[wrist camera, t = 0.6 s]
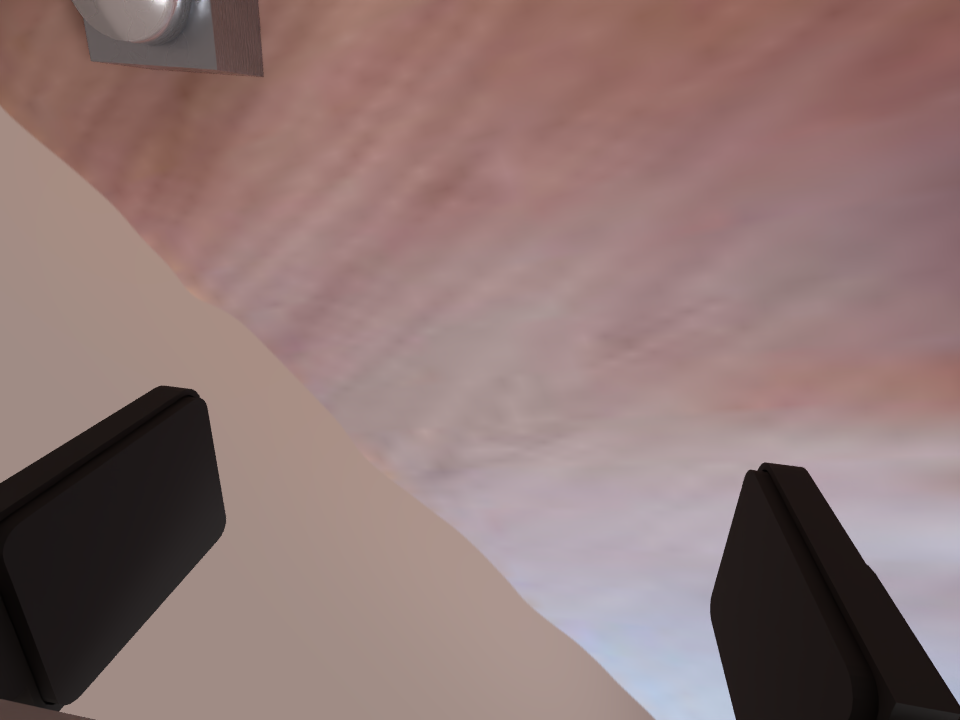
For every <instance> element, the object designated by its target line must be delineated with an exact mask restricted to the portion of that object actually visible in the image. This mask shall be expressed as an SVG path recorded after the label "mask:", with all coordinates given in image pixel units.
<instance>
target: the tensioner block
mask: <svg viewBox="0 0 960 720" xmlns="http://www.w3.org/2000/svg"><path fill="white" fill-rule="evenodd" d="M72 2H73V4H74V5H75V7H76V8H77V10H78V11H79V13H80V14H81V15H82V16H83V20H84V25H85V31H86V36H87V42H88V47H89V53H90V58H91V61H93V62H101V63H109V64H116V65H124V66H131V67H139V68H146V69H156V70H170V71H185V72H199V73H213V74H228V75H242V76H256V77H264V76H263V62H262V49H261V35H260V22H259V8H258V0H72Z"/></svg>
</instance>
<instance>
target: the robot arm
mask: <svg viewBox="0 0 960 720" xmlns="http://www.w3.org/2000/svg"><path fill="white" fill-rule="evenodd" d="M225 524H226V515H225V510H224V503H223V497H222V492H221V485H220V479H219V474H218V467H217V462H216V456H215V450H214V444H213V438H212V432H211V426H210V420H209V415H208V409H207V405H206V403H205V401H204V400H203V399H201V398H200V396H199V395H198V394H197V392H196V391H194V390H192V389H186V388H178V387H170V386H159V387H156V388H154V389H153V390H151V391H150V392H148V393H146V394H145V395H143V396H141V397H140V398H138V399H136V400H135V401H133V402H132V403H130V404H128V405H127V406H125V407H124V408H122V409H120V410H119V411H117V412H116V413H114V414H112V415H111V416H109V417H107V418H106V419H104V420H102V421H101V422H99V423H97V424H96V425H94V426H93V427H91V428H89V429H88V430H86V431H85V432H83V433H81V434H80V435H78V436H76V437H75V438H73V439H72V440H70V441H68V442H67V443H65V444H64V445H62V446H60V447H59V448H57V449H55V450H54V451H52V452H50V453H49V454H47V455H46V456H44V457H43V458H41V459H39V460H37V461H36V462H34V463H33V464H31V465H29V466H28V467H26V468H25V469H23V470H22V471H20V472H18V473H16V474H15V475H13V476H11V477H10V478H8V479H7V480H5V481H3V482H2V483H0V720H94V719H90V718H85V717H80V716H76V715H71V714H66V713H62V712H59V711H60V710H61V708H62V707H63V706H64V705H68V704H70V703H72V702H74V701H75V700H76V699H78V698H79V697H80V696H81V695H82V693H83V692H84V691H85V690H86V689H87V688H88V687H89V686H90V684H91V683H92V682H93V681H94V680H95V679H96V678H97V677H98V675H99V674H100V673H101V672H102V671H103V670H104V668H105V667H106V666H107V665H108V664H109V663H110V662H111V661H112V660H113V658H114V657H115V656H116V655H117V654H118V653H119V651H120V650H121V649H122V648H123V647H124V646H125V645H126V643H128V641H129V640H130V639H131V638H132V637H133V636H134V635H135V633H136V632H137V631H138V630H139V629H140V628H141V627H142V625H143V624H144V623H145V622H146V621H147V620H148V619H149V618H150V616H151V615H152V614H153V613H154V612H155V611H156V610H157V609H158V607H159V606H160V605H161V604H162V603H163V602H164V601H165V599H166V598H167V597H168V596H169V595H170V594H171V592H173V590H174V589H175V588H176V587H177V586H178V585H179V584H180V583H181V581H182V580H183V579H184V578H185V577H186V576H187V575H188V573H189V572H190V571H191V570H192V569H193V568H194V567H195V565H196V564H197V563H198V562H199V561H200V560H201V559H202V558H203V556H204V555H205V554H206V553H207V552H208V551H209V550H210V549H211V547H212V546H213V545H214V544H215V543H216V542H217V540H218V539H219V538H220V537H221V535H222V533H223V531H224V528H225ZM710 614H711V621H712V625H713V629H714V633H715V637H716V641H717V645H718V649H719V653H720V657H721V662H722V666H723V670H724V674H725V678H726V682H727V686H728V690H729V694H730V698H731V702H732V706H733V710H734V714H735V718H736V720H960V705H959V704H958V702H957V701H956V699H955V698H954V696H953V694H952V693H951V691H950V690H949V688H948V687H947V685H946V683H945V682H944V680H943V679H942V677H941V676H940V674H939V672H938V671H937V669H936V668H935V666H934V665H933V663H932V662H931V660H930V658H929V657H928V655H927V654H926V652H925V651H924V649H923V647H922V646H921V644H920V643H919V641H918V640H917V638H916V636H915V635H914V633H913V632H912V630H911V629H910V627H909V626H908V624H907V622H906V621H905V619H904V618H903V616H902V615H901V613H900V611H899V610H898V608H897V607H896V605H895V604H894V602H893V600H892V599H891V597H890V596H889V594H888V593H887V591H886V590H885V588H884V586H883V585H882V583H881V582H880V580H879V579H878V577H877V575H876V574H875V573H874V572H873V570H872V569H871V568H870V567H869V566H868V565H866V563H865V561H864V560H863V558H862V557H861V555H860V554H859V552H858V550H857V549H856V547H855V546H854V544H853V542H852V541H851V539H850V538H849V536H848V535H847V533H846V531H845V530H844V528H843V527H842V525H841V523H840V522H839V520H838V519H837V517H836V516H835V514H834V512H833V511H832V509H831V508H830V506H829V504H828V503H827V501H826V500H825V498H824V497H823V495H822V493H821V492H820V490H819V489H818V487H817V485H816V484H815V482H814V481H813V479H812V478H811V476H810V474H809V473H808V471H807V470H806V469H805V468H802V467H797V466H789V465H781V464H773V463H765V462H764V463H763V464H761V466H760V467H759V469H758V471H756V470H749V471H748V472H747V473H746V475H745V478H744V481H743V485H742V488H741V492H740V496H739V499H738V503H737V506H736V510H735V514H734V517H733V521H732V524H731V528H730V531H729V535H728V539H727V542H726V546H725V549H724V553H723V557H722V560H721V564H720V567H719V571H718V574H717V578H716V582H715V585H714V589H713V592H712V596H711V603H710Z"/></svg>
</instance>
